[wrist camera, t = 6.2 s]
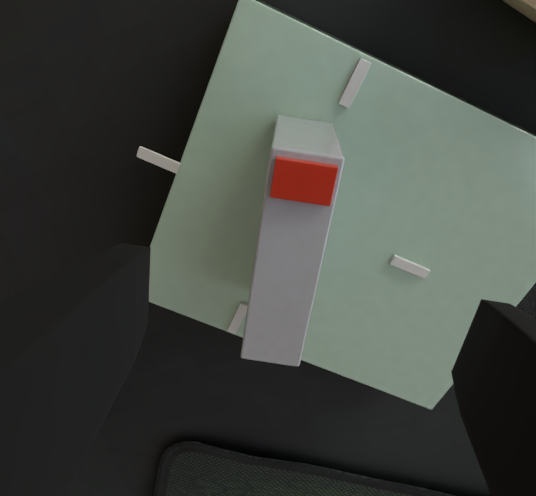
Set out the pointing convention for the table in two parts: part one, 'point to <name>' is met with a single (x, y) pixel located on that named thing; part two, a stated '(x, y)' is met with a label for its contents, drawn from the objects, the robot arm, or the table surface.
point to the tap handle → (291, 238)
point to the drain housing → (524, 7)
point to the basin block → (351, 204)
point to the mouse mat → (261, 476)
